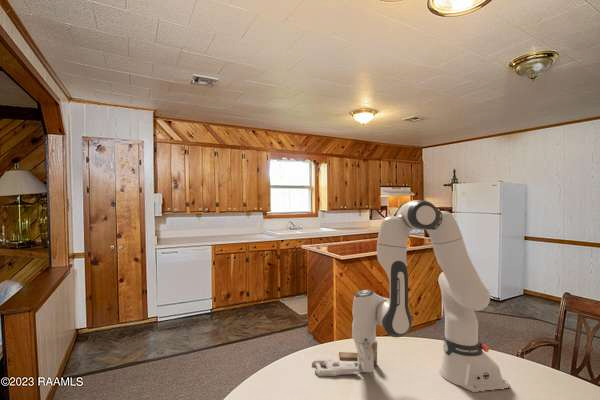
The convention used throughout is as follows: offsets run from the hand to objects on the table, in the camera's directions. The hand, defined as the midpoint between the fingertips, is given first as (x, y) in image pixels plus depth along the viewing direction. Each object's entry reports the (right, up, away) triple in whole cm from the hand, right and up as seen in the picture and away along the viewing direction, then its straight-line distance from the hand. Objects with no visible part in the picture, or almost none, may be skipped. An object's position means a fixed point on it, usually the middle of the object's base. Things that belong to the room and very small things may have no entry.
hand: (363, 369), depth 111 cm
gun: (-10, -2, +3) cm, 11 cm away
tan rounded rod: (+6, -2, +7) cm, 9 cm away
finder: (+1, -2, +4) cm, 4 cm away
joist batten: (0, -2, +12) cm, 12 cm away
